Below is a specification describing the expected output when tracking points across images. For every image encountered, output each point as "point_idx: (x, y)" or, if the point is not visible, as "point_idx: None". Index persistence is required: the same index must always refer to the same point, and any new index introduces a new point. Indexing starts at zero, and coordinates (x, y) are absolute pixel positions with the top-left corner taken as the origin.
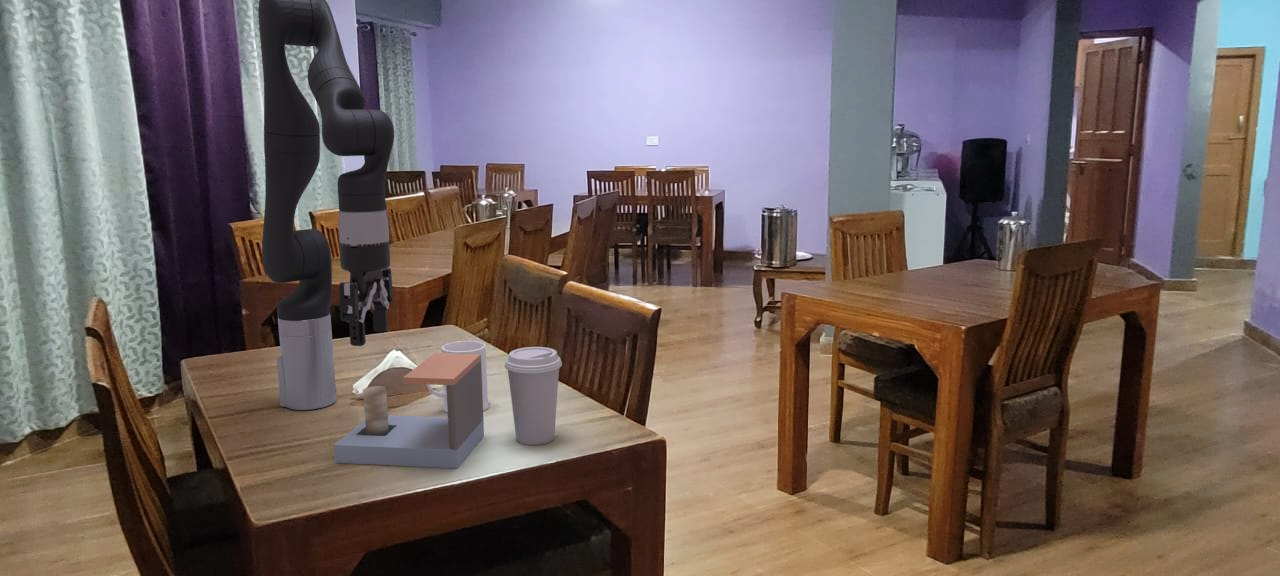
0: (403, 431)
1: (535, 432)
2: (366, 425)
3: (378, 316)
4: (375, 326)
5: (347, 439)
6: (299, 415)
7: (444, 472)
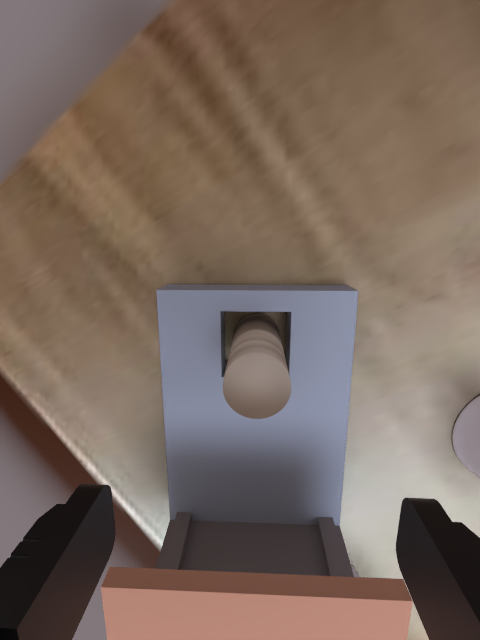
0: None
1: None
2: (237, 335)
3: (456, 630)
4: (418, 529)
5: (191, 305)
6: (462, 27)
7: (160, 483)
